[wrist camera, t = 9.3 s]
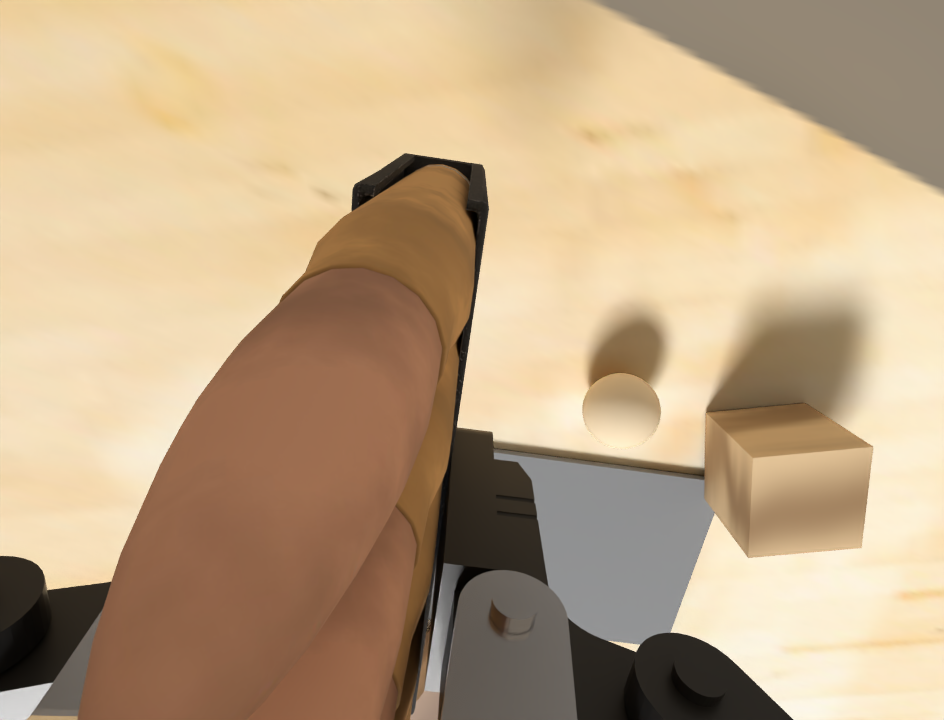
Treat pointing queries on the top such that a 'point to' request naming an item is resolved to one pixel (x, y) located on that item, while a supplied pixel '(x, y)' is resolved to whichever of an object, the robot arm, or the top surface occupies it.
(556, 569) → the pad
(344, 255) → the ammunition clip
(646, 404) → the cork ball
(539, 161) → the top surface
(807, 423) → the oak block
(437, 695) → the walnut block
